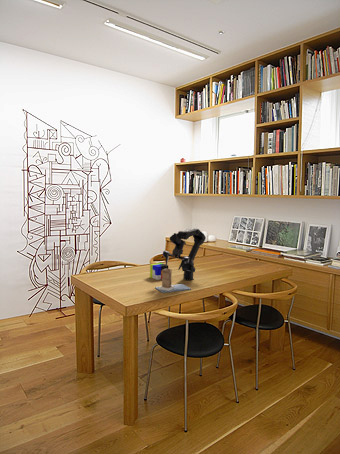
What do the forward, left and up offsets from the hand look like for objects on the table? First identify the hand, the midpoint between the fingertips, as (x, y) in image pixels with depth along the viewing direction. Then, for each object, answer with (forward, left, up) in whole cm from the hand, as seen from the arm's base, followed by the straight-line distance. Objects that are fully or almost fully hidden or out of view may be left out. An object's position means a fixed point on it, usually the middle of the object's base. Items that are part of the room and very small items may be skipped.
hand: (172, 268), depth 234 cm
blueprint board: (+3, +8, -12) cm, 15 cm away
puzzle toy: (-1, -24, -13) cm, 27 cm away
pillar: (+8, +8, -12) cm, 16 cm away
